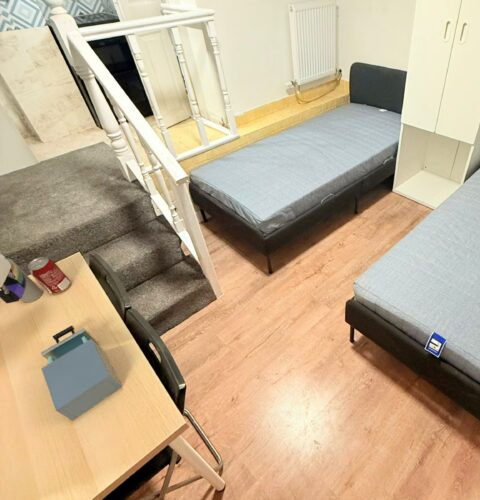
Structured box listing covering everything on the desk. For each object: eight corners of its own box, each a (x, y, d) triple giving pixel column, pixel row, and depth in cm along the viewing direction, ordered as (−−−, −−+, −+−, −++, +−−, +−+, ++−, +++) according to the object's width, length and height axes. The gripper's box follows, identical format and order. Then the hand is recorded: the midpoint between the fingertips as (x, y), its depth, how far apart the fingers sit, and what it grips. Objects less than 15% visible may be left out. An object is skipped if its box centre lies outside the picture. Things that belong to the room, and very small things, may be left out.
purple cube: (7, 302, 95) (-1, 295, 92) (11, 292, 97) (4, 286, 95) (21, 299, 95) (14, 292, 93) (25, 289, 98) (18, 283, 96)
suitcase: (61, 383, 89) (41, 368, 82) (107, 354, 94) (91, 338, 88) (77, 423, 81) (55, 410, 75) (125, 390, 87) (109, 375, 80)
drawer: (50, 349, 95) (35, 337, 90) (89, 327, 100) (77, 314, 95) (69, 398, 85) (53, 387, 80) (111, 370, 90) (99, 358, 85)
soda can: (76, 283, 113) (55, 258, 105) (57, 297, 109) (34, 273, 101) (62, 277, 116) (41, 252, 107) (44, 291, 111) (20, 267, 103)
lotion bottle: (21, 295, 110) (-25, 253, 96) (41, 286, 113) (-1, 243, 99) (24, 306, 107) (-23, 263, 93) (44, 296, 110) (1, 254, 96)
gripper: (-35, 232, 88) (10, 278, 101) (-66, 276, 77) (-10, 322, 90) (-3, 226, 90) (38, 272, 103) (-28, 269, 79) (22, 314, 91)
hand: (15, 295), depth 96 cm, fingers closed on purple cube, 3 cm apart
